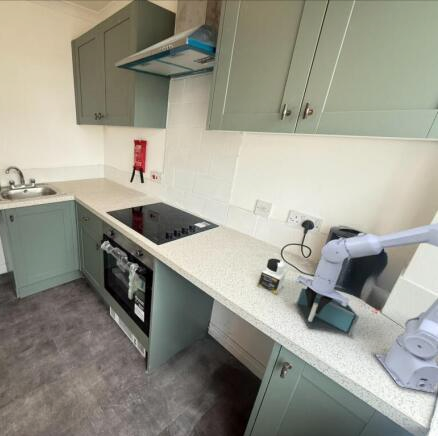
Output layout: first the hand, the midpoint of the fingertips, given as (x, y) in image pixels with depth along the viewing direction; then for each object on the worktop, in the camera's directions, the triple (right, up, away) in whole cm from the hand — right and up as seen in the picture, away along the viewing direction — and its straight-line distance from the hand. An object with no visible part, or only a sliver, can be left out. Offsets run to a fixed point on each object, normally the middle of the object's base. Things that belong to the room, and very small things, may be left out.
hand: (313, 310), depth 82 cm
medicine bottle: (-5, +3, +19) cm, 20 cm away
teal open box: (+5, -4, +3) cm, 7 cm away
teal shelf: (+3, -5, -1) cm, 6 cm away
